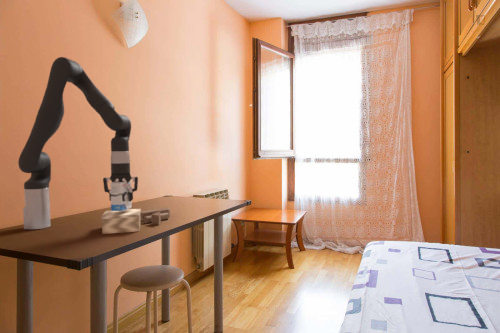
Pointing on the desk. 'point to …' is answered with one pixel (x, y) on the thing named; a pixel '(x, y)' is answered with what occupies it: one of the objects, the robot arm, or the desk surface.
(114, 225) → the chevron patterned box
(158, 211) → the wooden block set
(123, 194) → the ink box
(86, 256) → the desk surface
